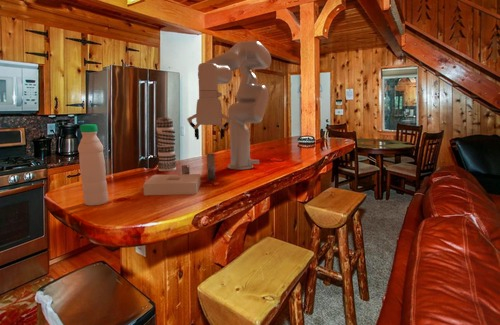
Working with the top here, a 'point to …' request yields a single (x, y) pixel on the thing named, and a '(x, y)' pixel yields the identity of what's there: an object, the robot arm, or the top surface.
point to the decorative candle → (165, 144)
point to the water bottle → (92, 166)
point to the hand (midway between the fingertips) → (209, 139)
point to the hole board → (172, 184)
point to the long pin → (211, 167)
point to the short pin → (185, 169)
